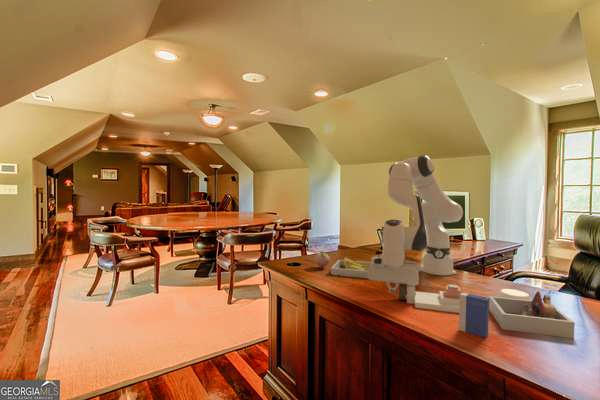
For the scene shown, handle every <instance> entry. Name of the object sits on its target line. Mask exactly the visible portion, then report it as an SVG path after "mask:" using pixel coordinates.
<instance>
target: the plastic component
mask: <svg viewBox="0 0 600 400" xmlns="http://www.w3.org/2000/svg"><path fill="white" fill-rule="evenodd" d="M343 260H344V266H345V267H344V266H343V267H344V269H351V270H362V271H368V270H369V266H368V265H365V264H362V263H360V262H357V261H356V260H354V259H351V258H349V257H345V256H344V258H343Z"/></svg>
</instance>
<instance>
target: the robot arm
mask: <svg viewBox="0 0 600 400" xmlns="http://www.w3.org/2000/svg"><path fill="white" fill-rule="evenodd" d="M434 171H435V164H434V161H433V159H432V158H431V157H430V156H428V155H419V156H415V157H410V158H407V159H404V160H402V161H400V162H395V163H393V164H392V165H391V166H390V168H389V169H388V175H389V176H388V184H387V185H388V186H387V192H388V193H387V194H388V196H389V198H390V199H391V200H392V201H394V202H395V203H396V204H398V205H401V206H404V207H407V208H408V209H410V210H411V211H412V212H413V217H414V218H413V219H414V224H415V225H414V226H405V225H404V221H402V220H399V219H388V220H386V221H385V222H384V223H383V224H384V225H383V230H382V231H381V243H382V247H383V248H382V251H381V252H382V253H381V254H376V255H373V256H372V257H371V259H370V262H371V264H370V266H369V270H368V278H367V279H368V280H369V281H374V282H384V283H385V284H386V287H387V288H388V293H389V294H397V289H399V284H401V285H407V284H412V285H415V286H417V285H419V283H420V277H419V272H423V273H426V274H430V275H434V276H435V275H437V276H451V275H457V271H456V270H455V269H454V259H453V256H451V247H450V232H449V231H448V230H447V229H446V228H445V227H444V225H443V223H456V222H459V221H460V220H462V218H463V215H464V211H463V207H462V206H461V204H459V203H457V202H455V201H454V200H452V199H451V198H450V197H449V196H448V195H447V194H446V193H445V192H444V191H443V189H442V188H441V186H440V184H439V181H438V179H437V178H436V175H435V174H434ZM414 187H415V189H416V191H417V193H416V192H415V190H414ZM421 200H423V201H421ZM405 250H409V251H411V250H412V251H414V252H415V251H416V252H422V251H423V250H425V252H426V253H425V254H423V256H422V257H421V260H422V261H421V262H422V263H421V264H419V263H418V262H417V261H415V260H414V261H412V260H411V261H410V260H406V259H405V257H406V256H405V254H406V253H405ZM391 283H392V284H393V283H394V284H395V287H391V285H390V284H391Z"/></svg>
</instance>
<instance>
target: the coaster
mask: <svg viewBox="0 0 600 400" xmlns="http://www.w3.org/2000/svg"><path fill="white" fill-rule="evenodd" d="M499 297H502V298H511V299H521V300H530V294H529V293H528V292H525V291H522V290H520V289H519V290H518V289H514V288H502V289H500V290H499Z"/></svg>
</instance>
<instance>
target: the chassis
mask: <svg viewBox="0 0 600 400" xmlns="http://www.w3.org/2000/svg"><path fill="white" fill-rule="evenodd" d="M406 291H407V294H406V304H411V305H414V308H416V309H417V308H418V309H424V310H430V311H431V310H432V311H433V310H434V311H442V312H447V313H458V314H459V306H460V305H459V301H460V299H453V298H445V290H444V291H443V290H439V291H438V293H434V292H427V291H426V292H425V291H417V290H416V285H412V284H406ZM415 292H416V295H415ZM462 293H463V292H461V294H462Z"/></svg>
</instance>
